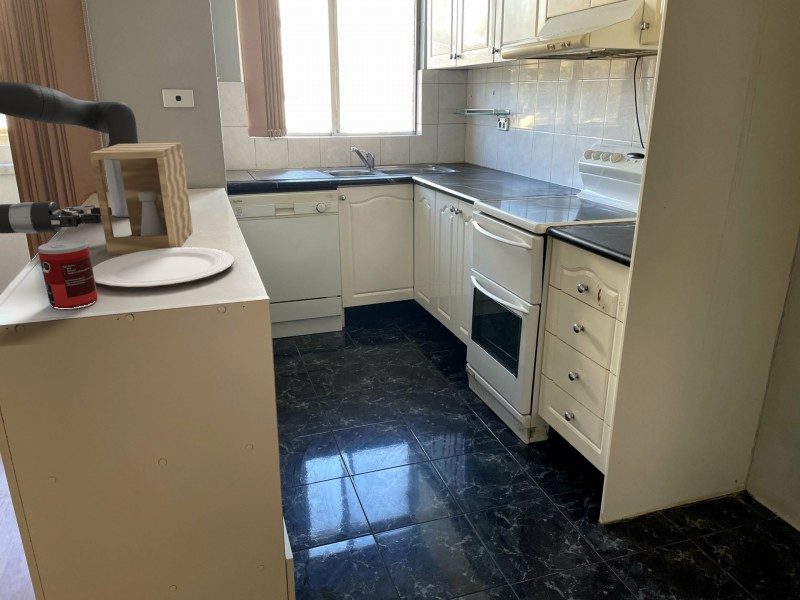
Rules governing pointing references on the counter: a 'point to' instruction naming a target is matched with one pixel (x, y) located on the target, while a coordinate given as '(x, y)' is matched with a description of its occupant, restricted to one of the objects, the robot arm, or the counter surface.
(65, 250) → the canned food
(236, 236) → the counter surface
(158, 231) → the salt shaker
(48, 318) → the counter surface
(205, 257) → the plate
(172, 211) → the open-side box
